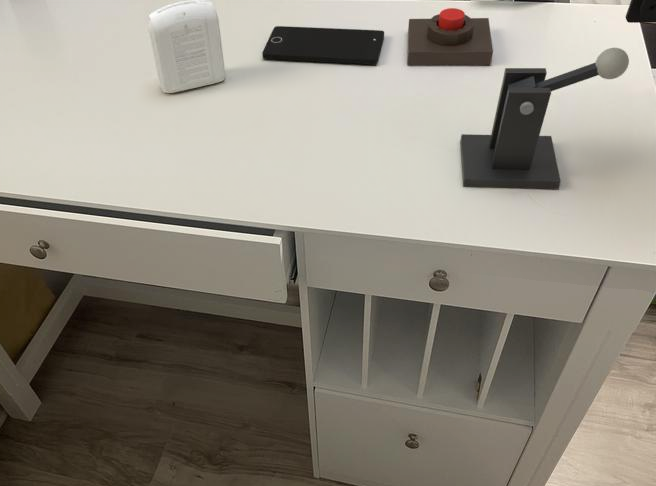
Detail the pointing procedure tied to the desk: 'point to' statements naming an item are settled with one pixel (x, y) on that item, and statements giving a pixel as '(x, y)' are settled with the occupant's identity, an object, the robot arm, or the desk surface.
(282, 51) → the cell phone
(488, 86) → the desk surface
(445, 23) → the power button
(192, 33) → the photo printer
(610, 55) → the lever switch
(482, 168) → the pivot bracket stand
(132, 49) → the desk surface
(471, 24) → the brown button base
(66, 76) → the desk surface
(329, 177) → the desk surface
